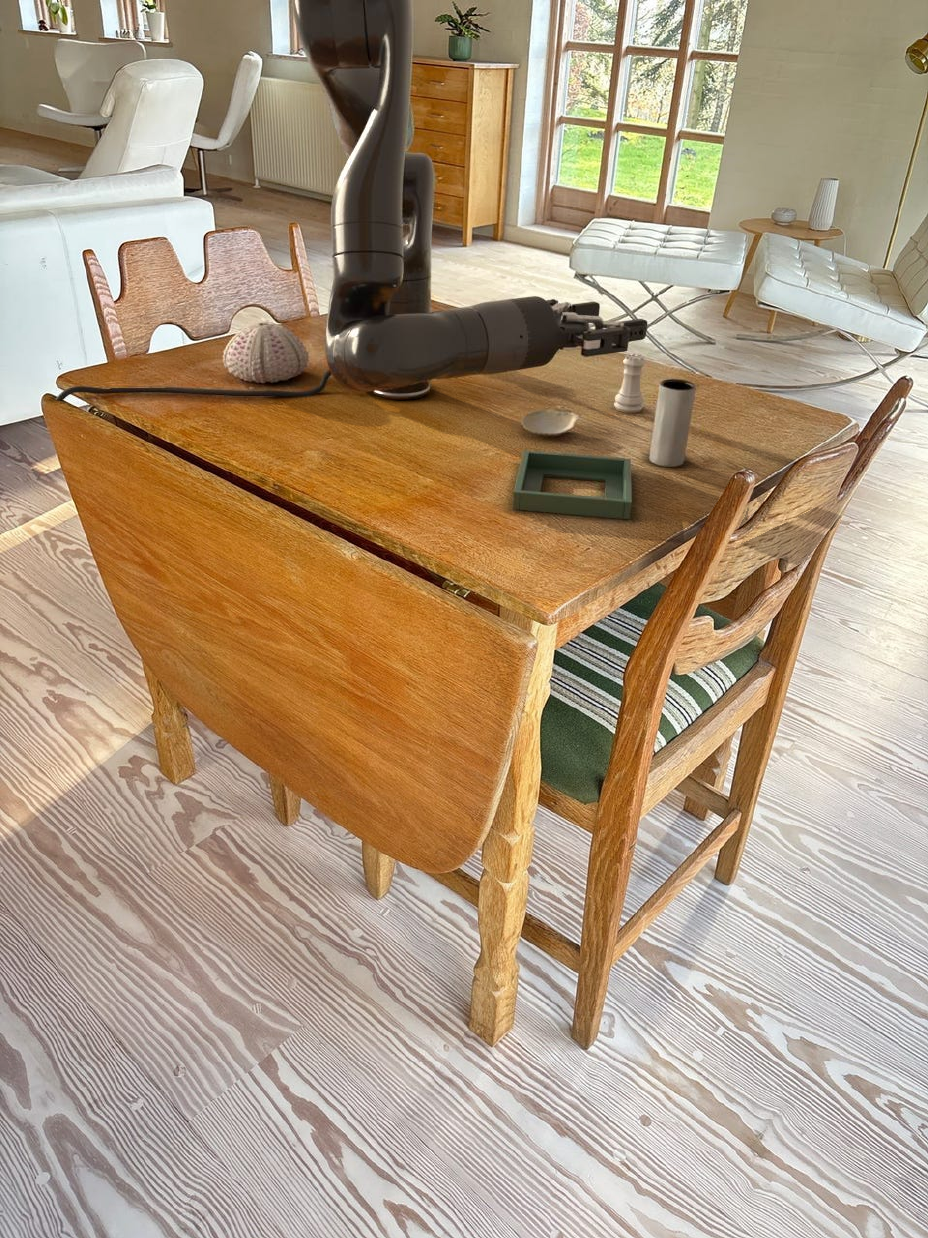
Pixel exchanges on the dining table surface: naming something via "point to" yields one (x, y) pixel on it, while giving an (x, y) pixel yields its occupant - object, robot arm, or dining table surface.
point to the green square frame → (574, 467)
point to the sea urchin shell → (265, 354)
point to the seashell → (549, 421)
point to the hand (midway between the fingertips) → (620, 319)
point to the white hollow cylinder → (672, 422)
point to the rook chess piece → (631, 386)
